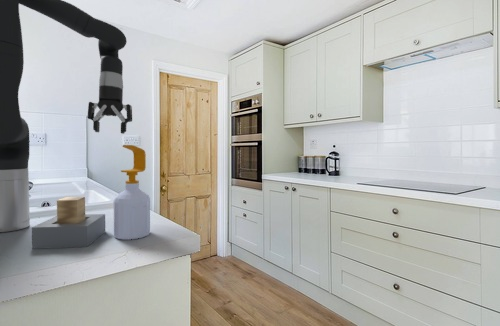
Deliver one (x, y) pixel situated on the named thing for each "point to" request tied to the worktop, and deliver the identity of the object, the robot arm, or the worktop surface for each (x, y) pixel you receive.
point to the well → (68, 232)
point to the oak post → (70, 210)
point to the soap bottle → (132, 203)
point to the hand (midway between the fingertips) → (110, 132)
